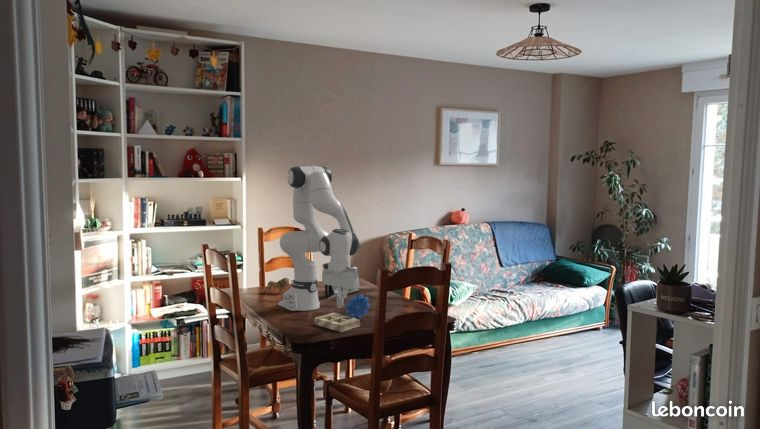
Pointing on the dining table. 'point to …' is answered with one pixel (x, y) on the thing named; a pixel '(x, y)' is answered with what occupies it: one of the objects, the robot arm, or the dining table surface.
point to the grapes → (357, 306)
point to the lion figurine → (278, 285)
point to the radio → (330, 293)
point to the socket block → (337, 322)
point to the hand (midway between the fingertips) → (340, 296)
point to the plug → (340, 297)
